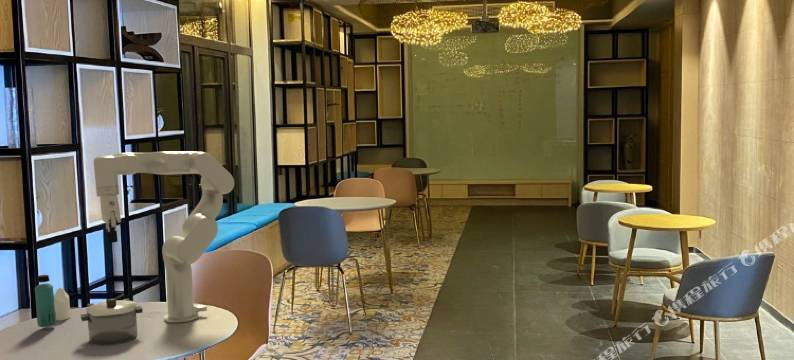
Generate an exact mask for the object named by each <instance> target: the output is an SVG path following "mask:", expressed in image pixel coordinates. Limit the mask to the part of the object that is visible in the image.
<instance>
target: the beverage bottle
mask: <svg viewBox="0 0 794 360" xmlns="http://www.w3.org/2000/svg"><path fill="white" fill-rule="evenodd" d="M36 279H37V280H36V282H37V283H38V285H36V287H34V293H35V294H34V295H35V306H36V307H35V310H36V311H35V312H36V321H37V322H36V323H37V326H38V327H40V328H47V327H52V326H55V325H56V323H57V320H56V311H55V304H54V303H55V302H54V301H55V300H54V295H55V293H54V286H53V285H52V284H50V283H47V282H49V281H50V276H49V275H48V274H42V275H38V276H37V277H36ZM39 283H41V284H39Z"/></svg>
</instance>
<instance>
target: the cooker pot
mask: <svg viewBox="0 0 794 360" xmlns="http://www.w3.org/2000/svg"><path fill="white" fill-rule="evenodd" d="M122 300H127V301H130V299H129V298H124V299H122ZM94 304H95V303H93V302H92V303H87V308H88V307H89V306H91V305H94ZM142 313H144V312H143V307H142V306H141V305H139V306H136V309H135V310H133V311H131V312H128V313H125V314H120V315H114V316H91V315H88V314H87V313H83V314H80V320H81V322H87V329H88V340H89V341H88V342H89V343H90V344H91V343H92V345H95V344H96V345H95V346H114V345H120V344H123V343H127V342H131V341H132V340H135V339H136V338H137V337H138V335H139V333H138V323H137V322H138V320H137V314H142Z"/></svg>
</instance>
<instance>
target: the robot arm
mask: <svg viewBox="0 0 794 360" xmlns="http://www.w3.org/2000/svg"><path fill="white" fill-rule="evenodd" d="M93 172H94V181H95V191H96V197H99V200H100V213H101V220H102V221H103V222H104V223H105V229H106V241H107V243H108V244H113V243H117V242H118V232H117V223H121V222H122V217H121V211H120V210H121V209H120V204H119V198H118V195H120V186H119V176H120V175H121V176H131V175H135V174H143V173H144V174H153V175H190V174H193V175H194V174H195V175H200V176H201V178H200V187H201V191H202V192H201V193H202V194H201V198H200V200H199V202H198V204H197V205H196V206H195V207H194V209H193V210H192V211H191V213H189V215H188V216H187V218H186V219H185V220H184V222H183V223H182V232H183V234H184V235H186V236H184V237H183V236H182V235H181V236H180V235H173V236H170V237H168V238H167V239H166V240H165V241H164V242H163V245H162V248H161V249H162V250H161V254H162V259H163V263H164V269H165V270H164V271H165V283H166V299H167V300H166V301H167V313H168V314H166V315H164V316H163V320H164V321H165V322H167V323H173V324H175V323H176V324H177V323H188V322H191V321H195V320H196V319H198V318H199V312H206V311H208V309H207V305H195V304H194V287H193V285H194V284H193V272H192V271H193V270H192V264H194V263H196V262H198V261H199V259H200V258H202V256H203V255H204V253H205V252H206V251H207V250H208V248H209V247H210V246H211V244H212V243H213V242H214V241H215V239H216V237H217V234H218V231H219V225H218V222H217V221H216V218H217V217H218V215H219V214H220V212H221V210H222V208H223V202H224V201H223V200H224V198H223V197H224V195H226V194H229V193H231V191H232V190H233V189H234V187H235V179H234V176H233V175H232V174H231V172H229V171H228V170H227V169H226V168H225V167H224V165H222V164H221V163H220V162H219V161H218V160H217V159H215V157H213V156H212V154H210V153H208V152H206V151H205V152H204V151H198V150H197V151H193V150H191V151H190V150H189V151H187V150H186V151H184V150H183V151H178V150H177V151H151V152H119V153H115V154H113V155H101V156H100V155H99V156H97V157H95V158H94V159H93Z"/></svg>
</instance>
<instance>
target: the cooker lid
mask: <svg viewBox="0 0 794 360" xmlns="http://www.w3.org/2000/svg"><path fill="white" fill-rule="evenodd" d="M136 307H137V303H136V301H133V300H129V301H127V300H123V299H122V300H121V299H120V300H117V298H109V299H106V301H103V302H98V303H94V305H91V306H89V307H88V306H87V308H86V309H85V310H86V314H88V315H91V316H114V315H120V314H125V313H128V312H131V311H133V310H135V309H136Z"/></svg>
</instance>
